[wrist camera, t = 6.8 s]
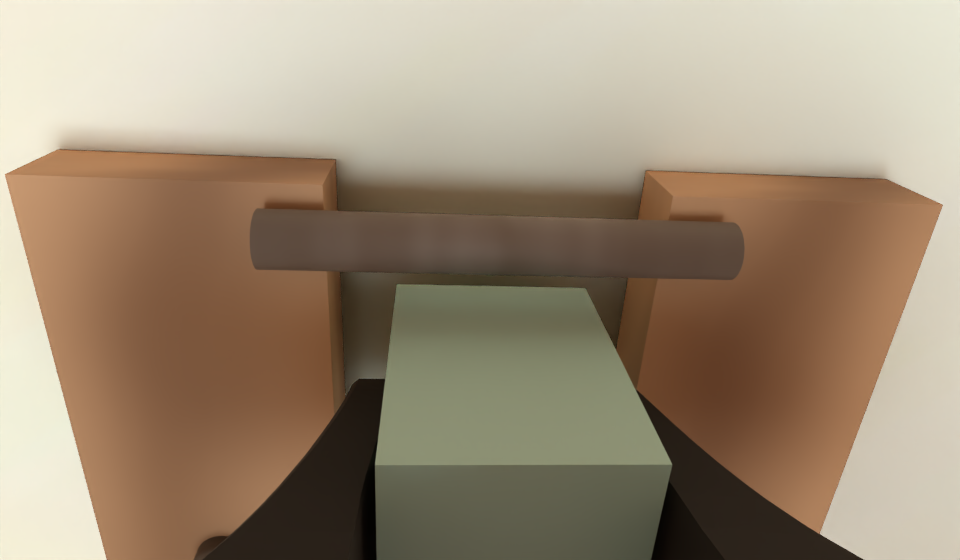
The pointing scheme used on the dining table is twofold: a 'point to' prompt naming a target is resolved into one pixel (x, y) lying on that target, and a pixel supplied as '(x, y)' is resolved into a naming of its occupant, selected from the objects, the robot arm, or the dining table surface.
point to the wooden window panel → (437, 250)
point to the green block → (512, 432)
